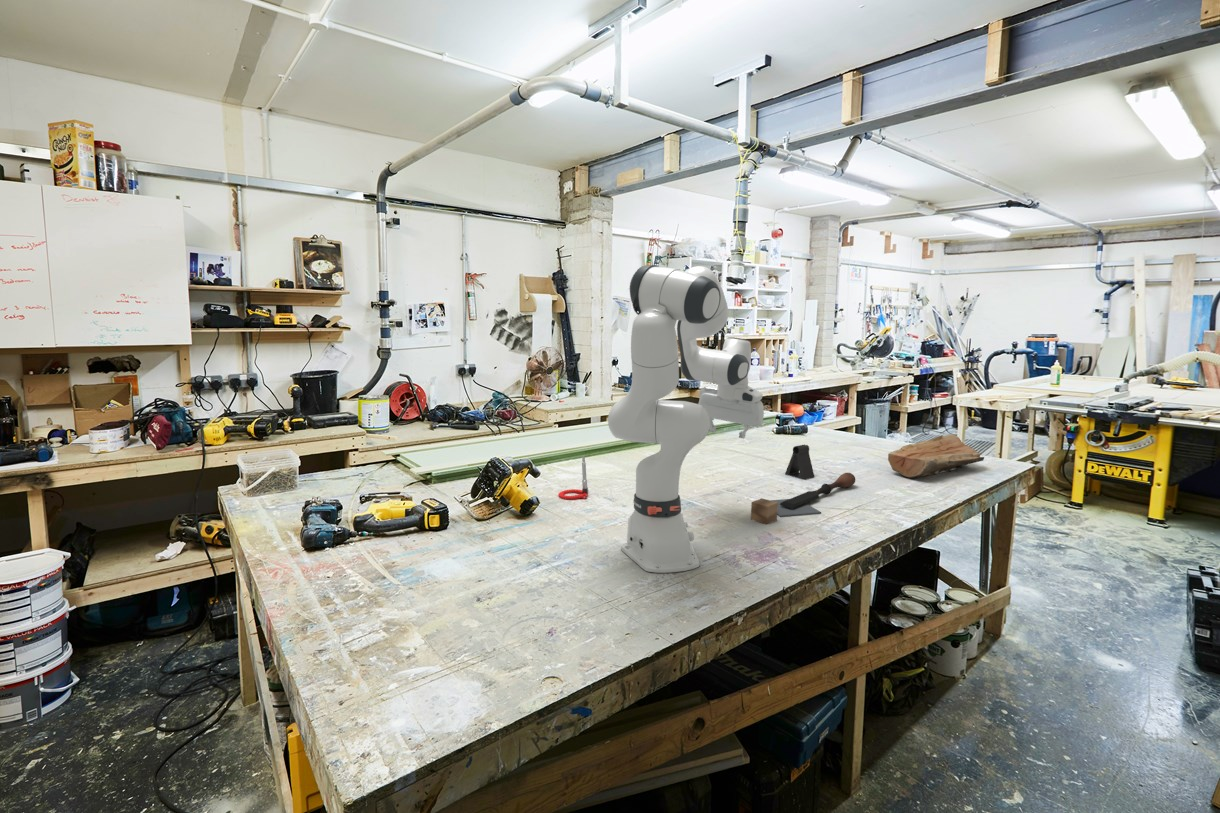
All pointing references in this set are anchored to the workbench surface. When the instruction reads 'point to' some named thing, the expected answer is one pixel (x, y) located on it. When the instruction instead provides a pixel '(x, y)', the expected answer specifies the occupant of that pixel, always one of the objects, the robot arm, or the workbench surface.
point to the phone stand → (800, 463)
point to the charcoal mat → (795, 510)
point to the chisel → (819, 491)
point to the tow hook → (582, 493)
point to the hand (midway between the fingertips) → (727, 434)
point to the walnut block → (764, 511)
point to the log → (932, 457)
